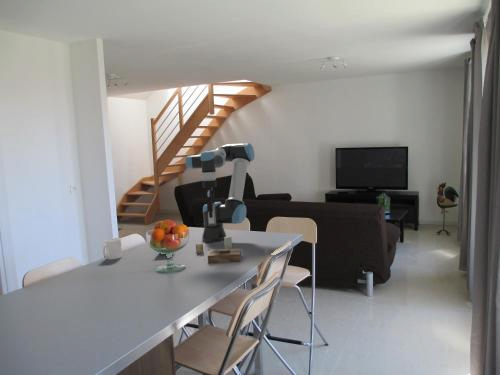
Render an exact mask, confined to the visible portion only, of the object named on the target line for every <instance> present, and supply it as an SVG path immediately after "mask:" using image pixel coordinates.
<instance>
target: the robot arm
mask: <svg viewBox="0 0 500 375" xmlns="http://www.w3.org/2000/svg"><path fill="white" fill-rule="evenodd" d="M254 160H255V151H254V146H252V144H251V143H250V142H246V143H245V142H242V143H241V142H240V143H229V144H228V143H227V144H224V145H221V146H218V147H215V148H214V149H213V150H209V151H202V152H200V153H199V154H195V155H187V156H186V158H185V161H184V162H185V167H186V168H187V169H190V170H193V169H194V170H195V169H201V174H200V176H201V177H202V188H204V189H205V188H206V191H205V196H206V204H204V205H203V206H202V214H203V215H202V216H203V233H202V235H201V236H202V237H201V238H202V239H201V241H202V242H204V243H219V242H223V241H224V237H227V234H226V231H225V228H224V225H223V224H229V225H230V224H233V225H237V224H238V225H239V224H242V223H243V222H244V221H245V220H246V216H247V206H246V205H245V202H244V201H243V198H244V197H243V196H244V190H245V184H246V177H247V170H248V167H249V166H250V164H251V162H253V161H254ZM227 162H229V163H230V162H231V163H232V164H233V169H232V175H231V180H230V181H231V182H230V187H229V193H228V198H227V199H225V201H224V204H223V203H222V202H221V201H215V190H214V188H216V187H217V186H218V184H217V180H216V179H217V171H216V170H217V168H222V167H224V166H225V164H226V163H227ZM213 203H215V217H216V226H209V224H213V223H214V213H213ZM208 216H209V222H208Z"/></svg>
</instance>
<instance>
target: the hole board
mask: <svg viewBox="0 0 500 375" xmlns="http://www.w3.org/2000/svg"><path fill="white" fill-rule="evenodd" d="M242 256H243V253H242V248H232V249H225V248H223V249H222V248H219V249H218V248H217V249H210V251H209V253H208V254H207V265H208V264H209V265H210V264H212V265H213V264H233V263H235V264H236V263H237V264H238V263H241V261H242Z"/></svg>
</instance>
